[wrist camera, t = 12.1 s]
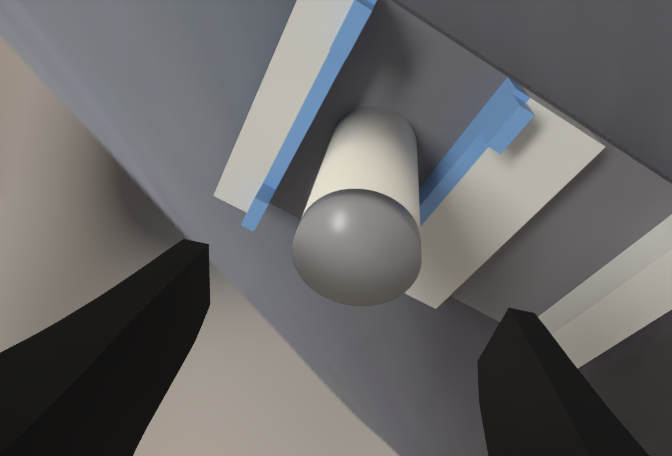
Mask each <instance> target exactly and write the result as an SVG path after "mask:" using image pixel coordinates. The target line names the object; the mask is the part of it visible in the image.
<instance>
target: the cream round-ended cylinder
mask: <svg viewBox="0 0 672 456" xmlns="http://www.w3.org/2000/svg"><path fill="white" fill-rule="evenodd" d="M292 257H293V262H294V265H295V268H296V270H297V272H298V274H299V275H300V277H301V278H302V279H303V281H304V282H305V283H306V284H307V285H308V286H309V287H310V288H312V289H313V290H314V291H315V292H317V293H318V294H320V295H322V296H323V297H325V298H327V299H330V300H332V301H335V302H338V303H341V304H346V305H352V306H372V305H379V304H382V303H386V302H389V301H391V300H393V299H395V298H397V297H399V296H401V295H402V294H403V293H405V292H406V291H407V290H408V289H409V288H410V287H411V286H412V285H413V283H414V282H415V280H416V279H417V277H418V275H419V272H420V268H421V261H422V255H421V231H420V207H419V183H418V159H417V141H416V136H415V133H414V131H413V128H412V127H411V125H410V123H409V122H408V121H407V120H406V119H405V118H404V117H403V116H402V115H400V114H399V113H398V112H396V111H394V110H392V109H389V108H386V107H382V106H366V107H361V108H358V109H356V110H354V111H352V112H350V113H348V114H347V115H346V116H345V117H343V118H342V120H341V121H340V122H339V123H338V125H337V126H336V128H335V130H334V133H333V135H332V138H331V141H330V143H329V146H328V149H327V151H326V154H325V157H324V159H323V162H322V165H321V167H320V170H319V173H318V175H317V178H316V181H315V183H314V186H313V189H312V191H311V194H310V197H309V199H308V202H307V205H306V207H305V210H304V213H303V215H302V218H301V221H300V223H299V226H298V229H297V231H296V234H295V237H294V240H293V244H292Z"/></svg>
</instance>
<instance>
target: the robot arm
mask: <svg viewBox="0 0 672 456" xmlns="http://www.w3.org/2000/svg"><path fill="white" fill-rule="evenodd" d="M209 280H210V279H209V244H205V243H200V242H196V241H191V240H186V239H183V240H181V241H180V242H178V243H177V244H175V245H174V246H172V247H171V248H170V249H168V250H167V251H165V252H164V253H162V254H161V255H160V256H158V257H157V258H155V259H154V260H152V261H151V262H150V263H148V264H147V265H145V266H144V267H142V268H141V269H140V270H138V271H137V272H135V273H134V274H132V275H131V276H129V277H128V278H126V279H125V280H123V281H122V282H120V283H119V284H118V285H116V286H114V287H113V288H111V289H110V290H108V291H107V292H106V293H104V294H102V295H101V296H99V297H98V298H96V299H94V300H93V301H91V302H90V303H88V304H86V305H85V306H83V307H81V308H80V309H78V310H76V311H75V312H73V313H71V314H70V315H68V316H67V317H65V318H63V319H62V320H60V321H58V322H57V323H55V324H53V325H51V326H49V327H48V328H46V329H44V330H42V331H41V332H39V333H37V334H35V335H33V336H32V337H30V338H28V339H26V340H24V341H22V342H20V343H18V344H16V345H14V346H12V347H10V348H8V349H6V350H5V351H3V352H1V353H0V456H133V454H134V452H135V450H136V448H137V446H138V444H139V442H140V440H141V438H142V436H143V434H144V432H145V430H146V428H147V426H148V425H149V423H150V421H151V419H152V417H153V416H154V414H155V412H156V410H157V409H158V407H159V405H160V403H161V402H162V400H163V398H164V396H165V394H166V393H167V391H168V389H169V387H170V385H171V384H172V382H173V380H174V378H175V377H176V375H177V373H178V371H179V370H180V368H181V366H182V364H183V362H184V361H185V359H186V357H187V355H188V353H189V352H190V350H191V348H192V346H193V344H194V342H195V340H196V338H197V335H198V333H199V331H200V328H201V326H202V324H203V321H204V318H205V316H206V314H207V311H208V309H209V306H210V281H209ZM478 387H479V403H480V409H481V415H482V421H483V427H484V433H485V439H486V444H487V450H488V455H489V456H649V455H648V454H647V453H646V452H645V450H644V449H643V448H642V447H641V446H640V445H639V443H638V442H637V441H636V440H635V439H634V438H633V436H632V435H631V434H630V433H629V432H628V431H627V430H626V428H625V427H624V426H623V425H622V424H621V423H620V421H619V420H618V419H617V418H616V416H615V415H614V414H613V413H612V412H611V410H610V409H609V408H608V407H607V406H606V404H605V403H604V402H603V401H602V399H601V398H600V397H599V396H598V394H597V393H596V392H595V391H594V389H593V388H592V387H591V385H590V384H589V383H588V382H587V380H586V379H585V378H584V376H583V375H582V374H581V373H580V371H579V370H578V369H577V367H576V366H575V365H574V363H573V362H572V361H571V360H570V358H569V357H568V356H567V354H566V353H565V352H564V350H563V349H562V348H561V346H560V345H559V344H558V342H557V341H556V340H555V338H554V337H553V336H552V334H551V333H550V332H549V331H548V329H547V328H546V327H545V325H544V324H543V323H542V321H541V320H540V319H539V318H538V317H537V315H536V314H535V313H533V312H528V311H523V310H518V309H514V308H508V310H507V311H506V313H505V315H504V316H503V318H502V320H501V322H500V323H499V325H498V327H497V329H496V330H495V332H494V334H493V335H492V337H491V339H490V341H489V342H488V344H487V346H486V348H485V349H484V351H483V353H482V355H481V356H480V358H479V360H478Z"/></svg>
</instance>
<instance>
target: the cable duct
mask: <svg viewBox="0 0 672 456" xmlns="http://www.w3.org/2000/svg"><path fill="white" fill-rule="evenodd" d="M366 106H382V107H386V108H389V109H392V110H394V111H396V112H398V113H399V114H400V115H402V116H403V117H404V118H405V119H406V120H407V121H408V122H409V123H410V125H411V127H412V128H413V131H414V133H415V136H416V141H417V159H418V183H419V207H420V231H421V255H422V261H421V268H420V272H419V275H418V277H417V279H416V280H415V282H414V283H413V285H412V286H411V287H410V288H409V289H408V290H407V291H406V292H405V294H407V295H409V296H411V297H413V298H415V299H417V300H419V301H421V302H423V303H425V304H427V305H429V306H431V307H433V308H435V309H436V308H437V307H438V306H439V305H440V304H441V303H443V302H444V301H445V300H446V299H447V298H448V297H449V296H450V297H452V298H454V299H456V300H458V301H460V302H462V303H464V304H466V305H468V306H470V307H472V308H474V309H475V310H477V311H479V312H481V313H483V314H485V315H487V316H489V317H491V318H493V319H495V320H497V321H499V322H501V320H502V318H503V316H504V315H505V313H506V311H507V310H508V308H514V309H518V310H523V311H528V312H533V313H535V314H536V315H537V317H538V318H539V319H540V320H541V321H542V323H543V324H544V325H545V327H546V328H547V329H548V331H549V332H550V333H551V334H552V336H553V337H554V338H555V340H556V341H557V342H558V344H559V345H560V346H561V348H562V349H563V350H564V352H565V353H566V354H567V356H568V357H569V358H570V360H571V361H572V362H573V363H574V365H575V366H576V367H577V369H578V368H579V367H581V366H582V365H584V364H586V363H587V362H589V361H590V360H592V359H594V358H595V357H597V356H598V355H600V354H602V353H603V352H605V351H606V350H608V349H610V348H611V347H613V346H614V345H616V344H617V343H619V342H621V341H622V340H624V339H625V338H627V337H629V336H630V335H632V334H633V333H635V332H637V331H638V330H640V329H641V328H643V327H645V326H646V325H648V324H649V323H651V322H652V321H654V320H656V319H657V318H659V317H660V316H662V315H664V314H665V313H667V312H668V311H670V310H672V180H670V179H669V178H667V177H666V176H664V175H663V174H661V173H659V172H658V171H656V170H655V169H653V168H652V167H650V166H649V165H647V164H646V163H644V162H643V161H641V160H640V159H638V158H637V157H635V156H634V155H632V154H630V153H629V152H627V151H626V150H624V149H623V148H621V147H620V146H618V145H617V144H615V143H614V142H612V141H611V140H609V139H608V138H606V137H605V136H603V135H601V134H600V133H598V132H597V131H595V130H594V129H592V128H591V127H589V126H588V125H586V124H585V123H583V122H582V121H580V120H579V119H577V118H576V117H574V116H573V115H571V114H569V113H568V112H566V111H565V110H563V109H562V108H560V107H559V106H557V105H556V104H554V103H553V102H551V101H550V100H548V99H547V98H545V97H544V96H542V95H540V94H539V93H537V92H536V91H534V90H533V89H531V88H530V87H528V86H527V85H525V84H524V83H522V82H521V81H519V80H518V79H516V78H515V77H513V76H511V75H510V74H508V73H507V72H505V71H504V70H502V69H501V68H499V67H498V66H496V65H495V64H493V63H492V62H490V61H489V60H487V59H486V58H484V57H482V56H481V55H479V54H478V53H476V52H475V51H473V50H472V49H470V48H469V47H467V46H466V45H464V44H463V43H461V42H460V41H458V40H457V39H455V38H453V37H452V36H450V35H449V34H447V33H446V32H444V31H443V30H441V29H440V28H438V27H437V26H435V25H434V24H432V23H431V22H429V21H428V20H426V19H424V18H423V17H421V16H420V15H418V14H417V13H415V12H414V11H412V10H411V9H409V8H408V7H406V6H405V5H403V4H402V3H400V2H399V1H397V0H297V2H296V4H295V6H294V9H293V11H292V13H291V16H290V18H289V20H288V23H287V25H286V27H285V30H284V32H283V34H282V37H281V39H280V41H279V44H278V46H277V48H276V51H275V53H274V55H273V58H272V60H271V62H270V65H269V67H268V69H267V72H266V74H265V76H264V79H263V81H262V83H261V86H260V88H259V90H258V93H257V95H256V97H255V100H254V102H253V104H252V107H251V109H250V111H249V114H248V116H247V118H246V121H245V123H244V125H243V128H242V130H241V132H240V135H239V137H238V140H237V142H236V144H235V147H234V149H233V151H232V154H231V156H230V158H229V161H228V163H227V165H226V168H225V170H224V172H223V175H222V177H221V179H220V182H219V184H218V186H217V189H216V191H215V193H214V196H215V197H217V198H219V199H221V200H223V201H225V202H227V203H229V204H231V205H233V206H235V207H237V208H239V209H241V210H243V211H245V212H247V214H246V216H245V218H244V220H243V222H242V224H241V226H243V227H245V228H247V229H249V230H251V231H253V232H254V230H255V228H256V227H257V225H258V223H259V221H260V219H261V217H262V215H263V213H264V212H265V210H266V208H267V206H268V204H269V202H270V203H272V204H274V205H275V206H277V207H279V208H281V209H283V210H285V211H287V212H289V213H291V214H293V215H295V216H297V217H299V218H300V219H301V218H302V215H303V213H304V210H305V207H306V205H307V202H308V199H309V197H310V194H311V191H312V189H313V186H314V183H315V181H316V178H317V175H318V173H319V170H320V167H321V165H322V162H323V159H324V157H325V154H326V151H327V149H328V146H329V143H330V141H331V138H332V135H333V133H334V130H335V128H336V126H337V125H338V123H339V122H340V121H341V120H342V118H343V117H345V116H346V115H347V114H348V113H350V112H352V111H354V110H356V109H358V108H361V107H366Z"/></svg>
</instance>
